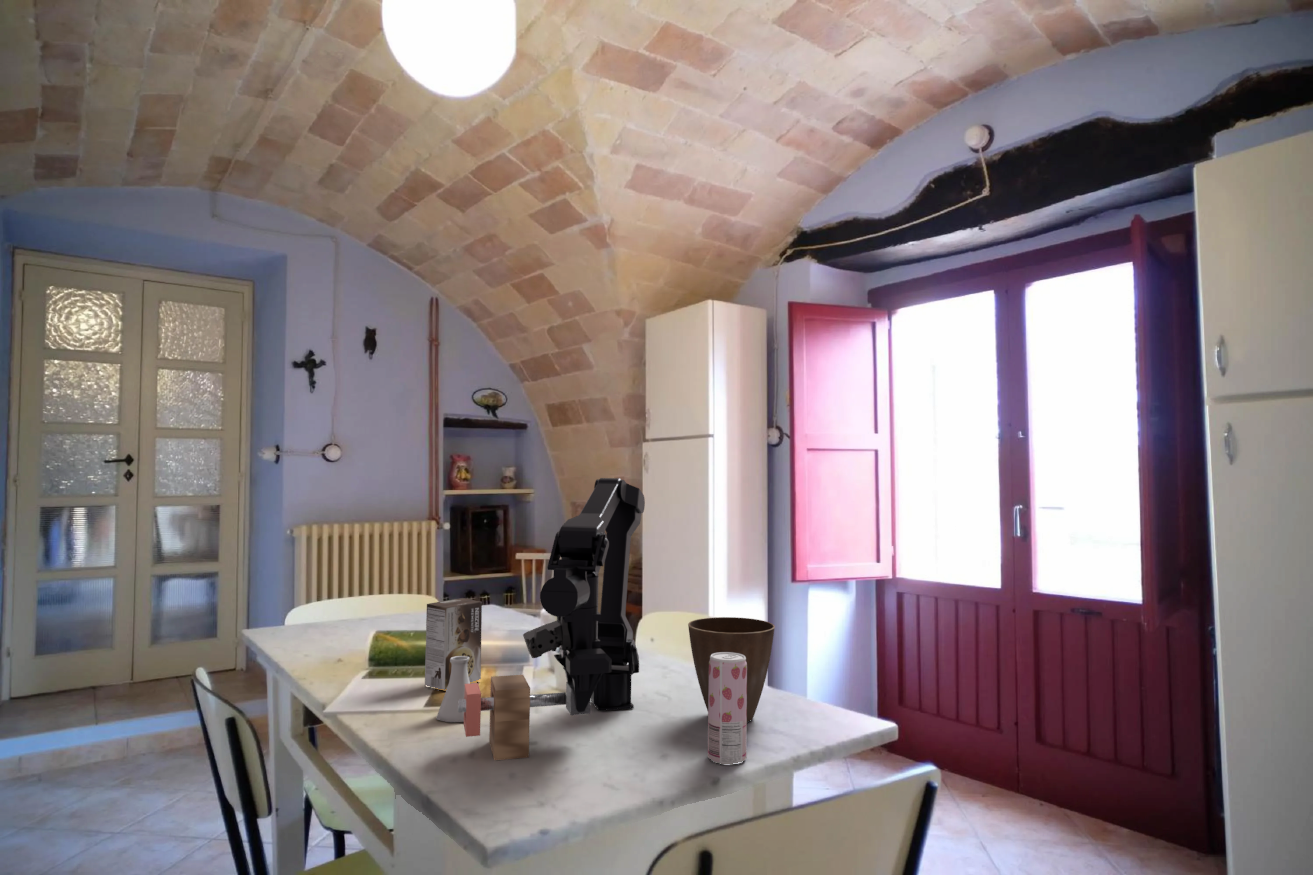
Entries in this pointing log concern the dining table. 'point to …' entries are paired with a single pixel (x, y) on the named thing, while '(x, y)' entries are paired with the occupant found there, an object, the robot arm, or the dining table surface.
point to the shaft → (539, 701)
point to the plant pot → (737, 638)
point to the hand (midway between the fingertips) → (577, 707)
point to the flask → (454, 691)
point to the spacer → (472, 709)
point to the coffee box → (452, 639)
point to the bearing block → (509, 717)
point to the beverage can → (727, 707)
